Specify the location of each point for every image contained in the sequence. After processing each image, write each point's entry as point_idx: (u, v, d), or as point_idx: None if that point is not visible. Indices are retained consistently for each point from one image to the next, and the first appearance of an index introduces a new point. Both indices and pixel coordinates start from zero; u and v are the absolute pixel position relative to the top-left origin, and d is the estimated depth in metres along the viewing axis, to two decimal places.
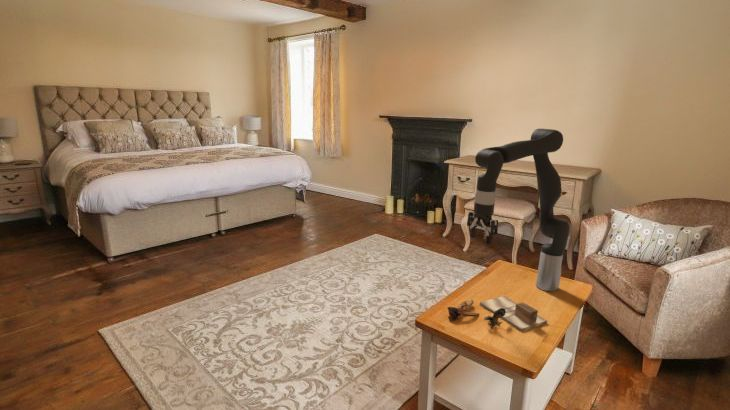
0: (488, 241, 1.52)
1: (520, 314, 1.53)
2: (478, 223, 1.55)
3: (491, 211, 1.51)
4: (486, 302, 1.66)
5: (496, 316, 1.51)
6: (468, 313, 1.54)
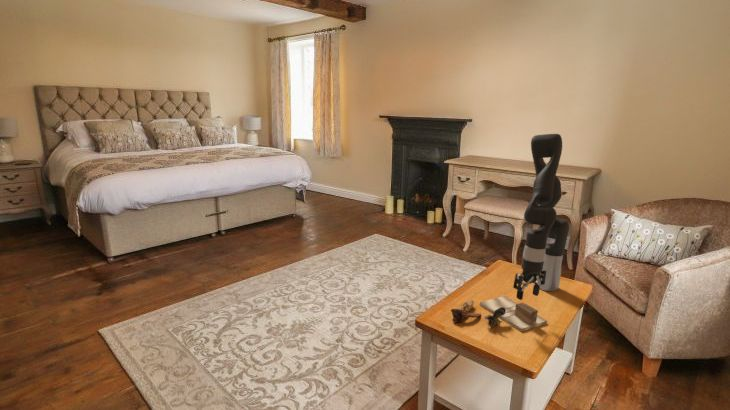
0: (538, 291, 1.53)
1: (520, 314, 1.53)
2: None
3: None
4: (486, 302, 1.66)
5: (496, 315, 1.51)
6: (472, 314, 1.53)
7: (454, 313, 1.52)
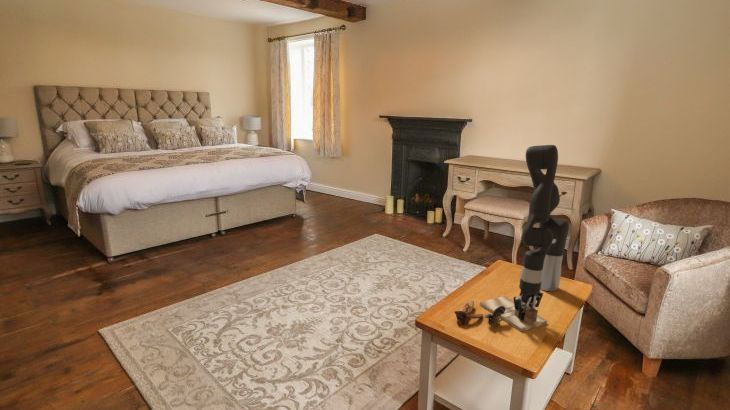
0: None
1: None
2: None
3: None
4: (486, 302, 1.66)
5: (496, 314, 1.52)
6: (475, 315, 1.53)
7: (458, 315, 1.51)
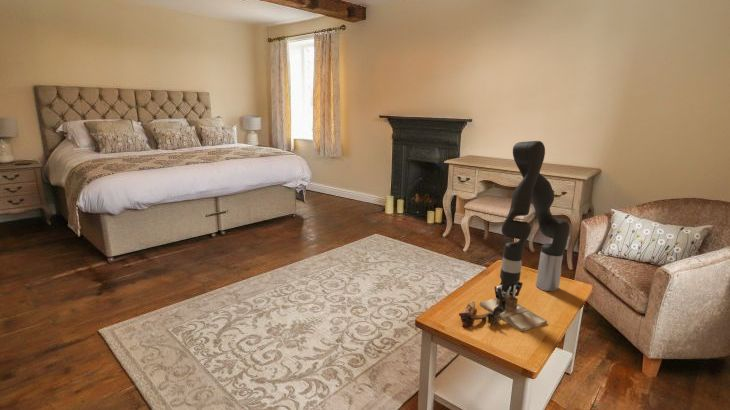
0: None
1: None
2: None
3: None
4: (486, 302, 1.66)
5: (496, 313, 1.53)
6: (479, 316, 1.52)
7: (463, 317, 1.50)
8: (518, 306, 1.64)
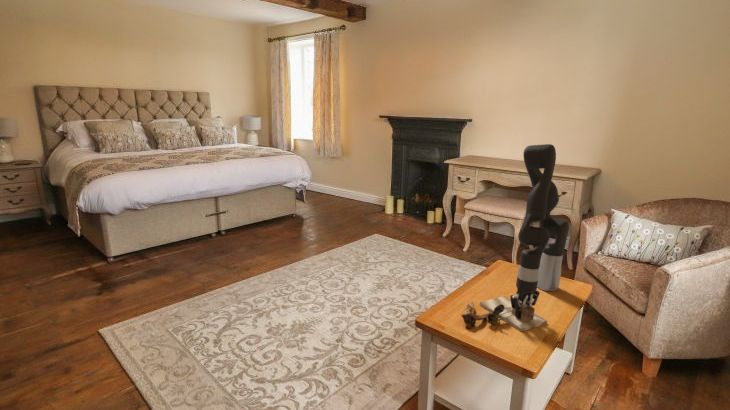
0: None
1: None
2: None
3: None
4: (486, 302, 1.66)
5: (496, 312, 1.53)
6: (481, 316, 1.52)
7: (467, 318, 1.49)
8: None
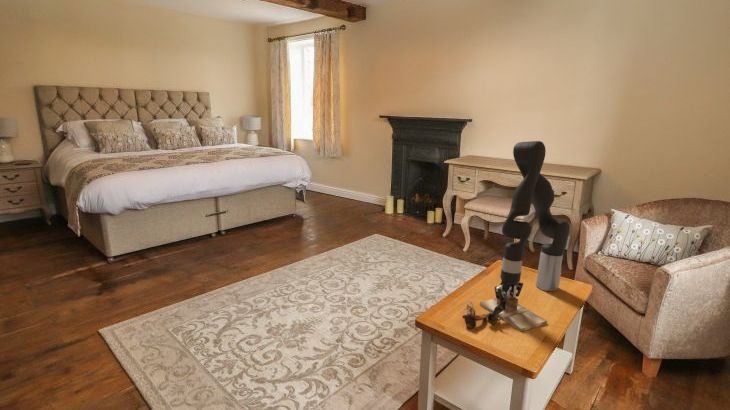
0: None
1: None
2: None
3: None
4: (486, 302, 1.66)
5: (496, 312, 1.53)
6: (482, 316, 1.52)
7: (468, 319, 1.48)
8: (518, 306, 1.64)
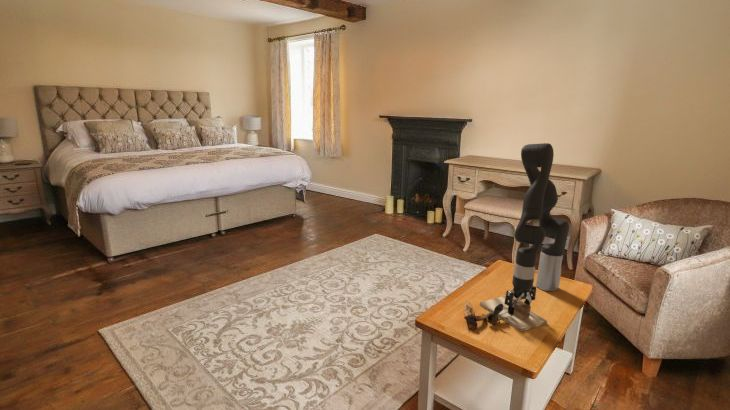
0: None
1: (514, 310, 1.56)
2: None
3: None
4: (486, 302, 1.66)
5: (496, 312, 1.54)
6: (482, 317, 1.52)
7: (470, 320, 1.48)
8: None
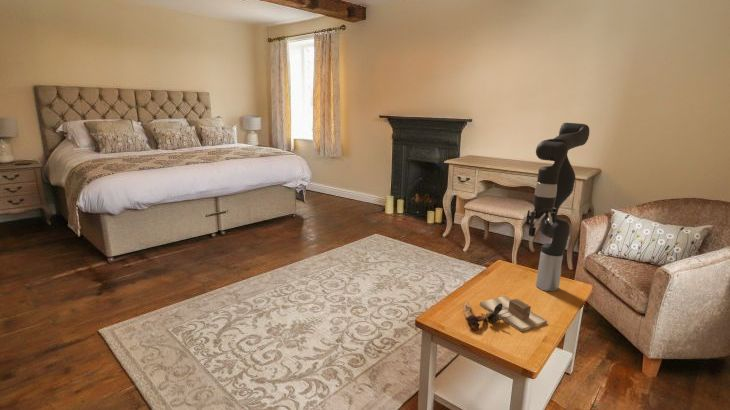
0: (550, 230, 1.55)
1: (514, 310, 1.56)
2: (542, 218, 1.51)
3: None
4: (486, 302, 1.66)
5: (496, 312, 1.54)
6: (483, 317, 1.52)
7: (472, 321, 1.47)
8: None
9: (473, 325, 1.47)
